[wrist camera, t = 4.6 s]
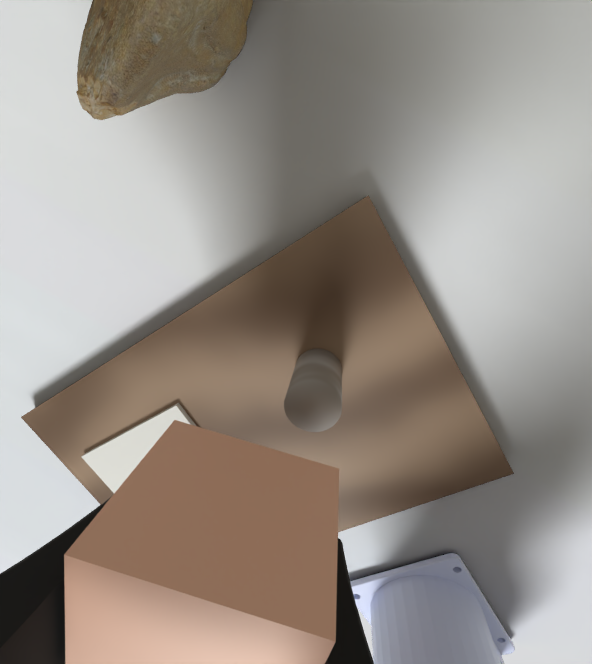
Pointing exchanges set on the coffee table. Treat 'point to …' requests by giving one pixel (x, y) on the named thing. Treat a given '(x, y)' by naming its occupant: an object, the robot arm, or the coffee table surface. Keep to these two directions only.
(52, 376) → the coffee table surface
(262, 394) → the post board
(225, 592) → the salmon pink cube
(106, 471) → the mat
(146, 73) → the fossil
